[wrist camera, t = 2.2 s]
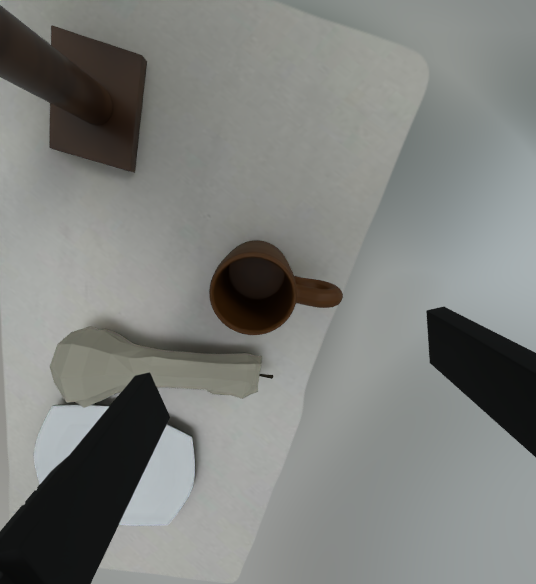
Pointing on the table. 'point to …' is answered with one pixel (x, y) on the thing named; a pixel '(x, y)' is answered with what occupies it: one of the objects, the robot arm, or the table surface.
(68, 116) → the pedestal tray stand
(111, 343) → the faceted club
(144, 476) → the plate
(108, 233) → the table surface
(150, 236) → the table surface
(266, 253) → the mug
